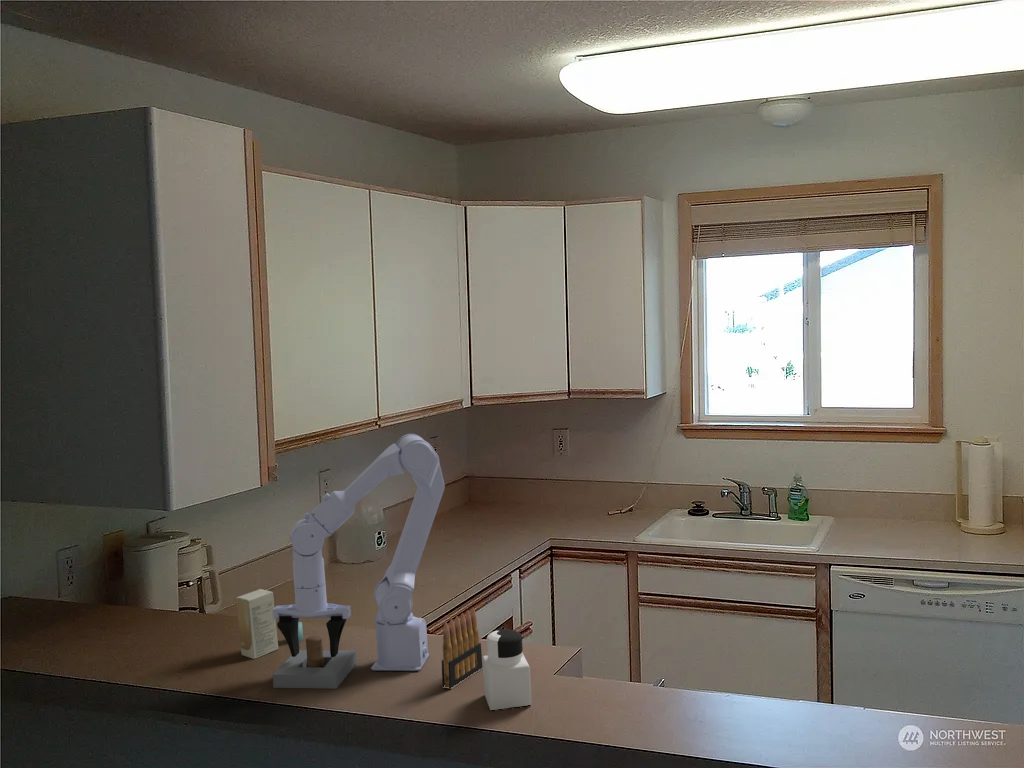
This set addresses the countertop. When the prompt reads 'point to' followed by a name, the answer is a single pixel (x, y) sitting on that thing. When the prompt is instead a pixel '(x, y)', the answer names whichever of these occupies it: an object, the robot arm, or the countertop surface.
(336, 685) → the slate hole block
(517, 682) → the medicine bottle
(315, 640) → the long walnut pin
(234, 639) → the countertop surface
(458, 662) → the ammunition clip
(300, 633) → the short teal pin
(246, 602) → the skincare box
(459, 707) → the countertop surface
